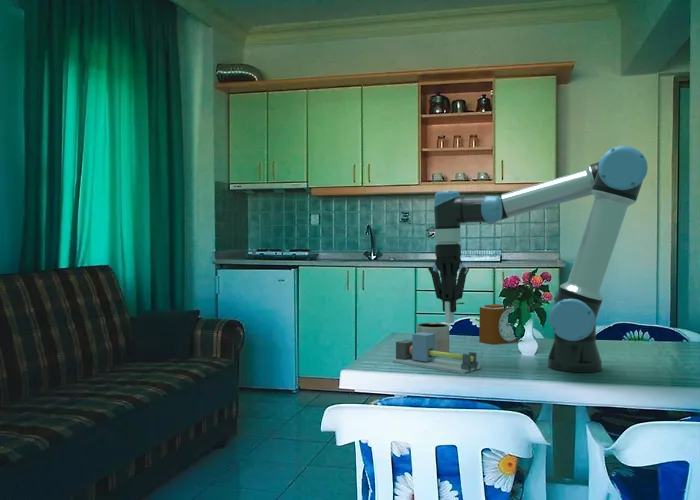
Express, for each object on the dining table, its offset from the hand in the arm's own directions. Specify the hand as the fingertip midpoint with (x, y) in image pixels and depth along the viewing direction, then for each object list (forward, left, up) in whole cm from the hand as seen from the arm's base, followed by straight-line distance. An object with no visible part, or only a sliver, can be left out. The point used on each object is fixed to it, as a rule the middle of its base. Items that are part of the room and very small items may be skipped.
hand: (449, 323), depth 195 cm
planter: (+16, -15, -13) cm, 25 cm away
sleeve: (+9, 0, -12) cm, 15 cm away
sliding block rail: (+5, 0, -13) cm, 14 cm away
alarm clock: (+11, -52, -13) cm, 55 cm away
